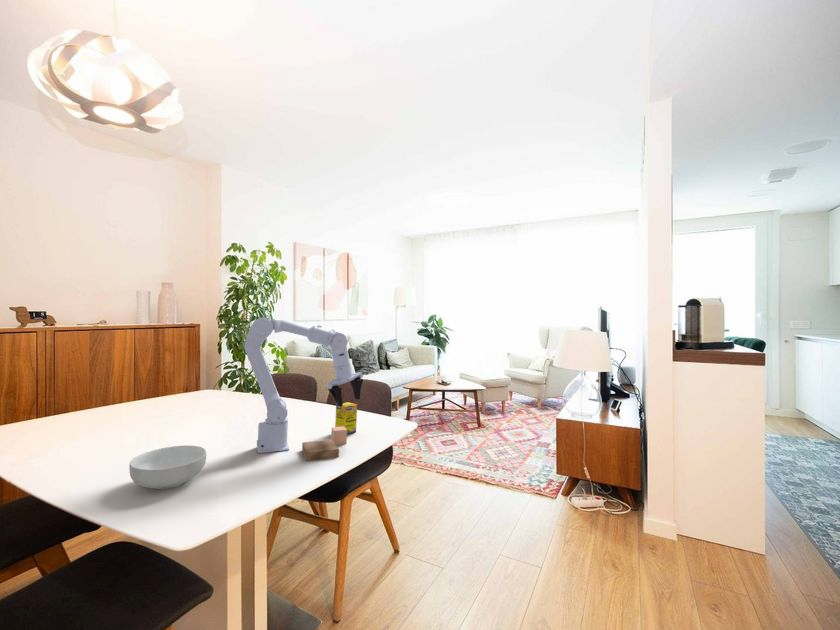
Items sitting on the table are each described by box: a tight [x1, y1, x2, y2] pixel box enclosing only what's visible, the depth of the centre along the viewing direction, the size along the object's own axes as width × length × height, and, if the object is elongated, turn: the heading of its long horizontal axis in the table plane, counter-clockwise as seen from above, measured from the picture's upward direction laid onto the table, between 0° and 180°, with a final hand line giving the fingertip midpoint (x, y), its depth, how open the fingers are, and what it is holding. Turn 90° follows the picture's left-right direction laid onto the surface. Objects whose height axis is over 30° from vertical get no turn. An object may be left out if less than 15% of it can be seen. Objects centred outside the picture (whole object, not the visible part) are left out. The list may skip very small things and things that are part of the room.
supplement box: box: [334, 401, 358, 435], centre depth 146 cm, size 6×6×11 cm
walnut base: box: [301, 439, 340, 462], centre depth 122 cm, size 10×10×2 cm
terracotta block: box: [330, 426, 348, 446], centre depth 134 cm, size 4×4×5 cm
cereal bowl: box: [128, 445, 207, 490], centre depth 98 cm, size 17×17×7 cm
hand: (349, 402), depth 135 cm, fingers open, 7 cm apart
